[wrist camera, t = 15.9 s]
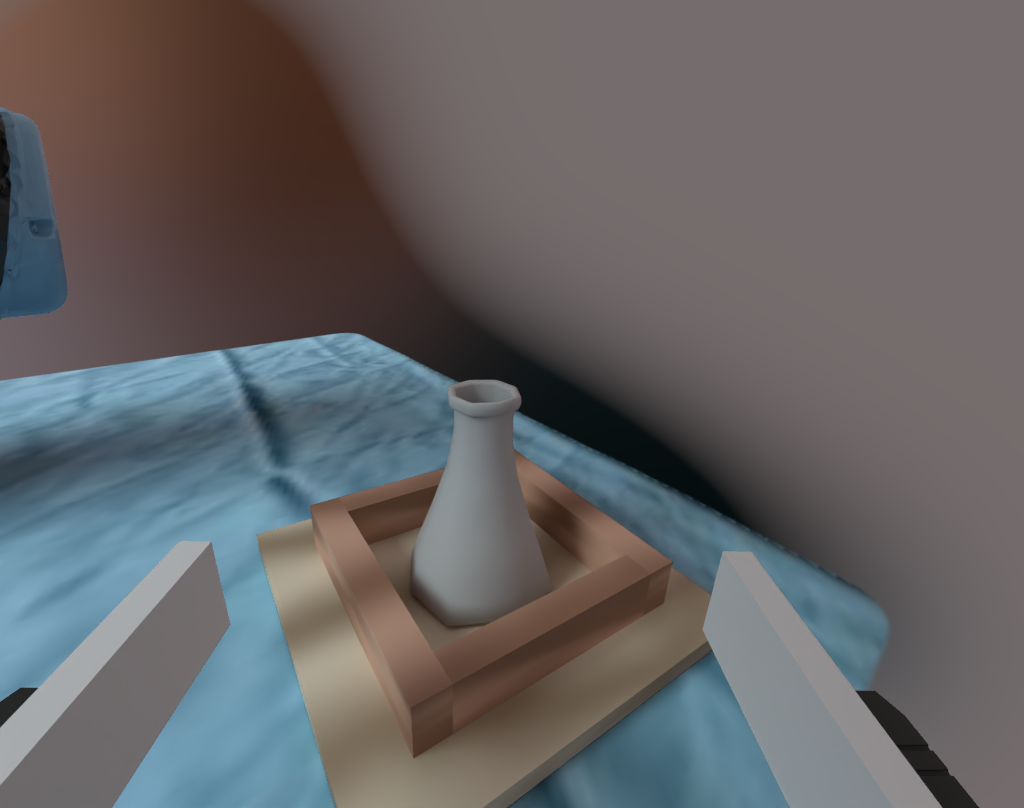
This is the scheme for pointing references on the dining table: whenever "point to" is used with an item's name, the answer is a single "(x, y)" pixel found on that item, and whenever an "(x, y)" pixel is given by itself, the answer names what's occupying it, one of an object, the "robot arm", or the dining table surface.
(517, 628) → the dock board
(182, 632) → the robot arm
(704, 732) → the dining table surface
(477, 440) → the flask
